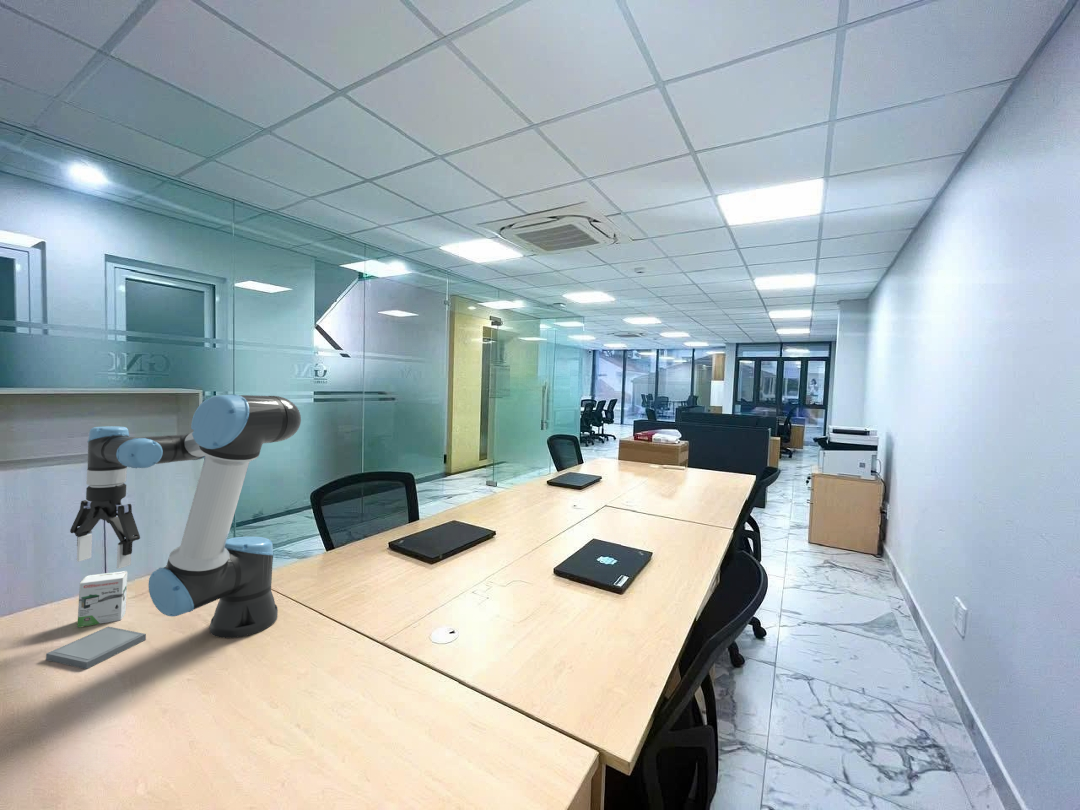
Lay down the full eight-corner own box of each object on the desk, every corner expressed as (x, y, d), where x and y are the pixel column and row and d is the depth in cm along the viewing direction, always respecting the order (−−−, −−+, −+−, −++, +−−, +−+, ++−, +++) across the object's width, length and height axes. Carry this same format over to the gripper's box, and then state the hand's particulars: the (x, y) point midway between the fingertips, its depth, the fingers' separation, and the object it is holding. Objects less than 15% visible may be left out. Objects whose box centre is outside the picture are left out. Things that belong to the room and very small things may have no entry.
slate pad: (145, 639, 107) (145, 633, 107) (86, 669, 96) (86, 662, 96) (108, 632, 110) (108, 626, 110) (45, 659, 98) (46, 653, 98)
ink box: (76, 628, 111) (77, 583, 110) (82, 619, 115) (84, 575, 115) (121, 620, 115) (123, 576, 115) (126, 612, 120) (128, 570, 119)
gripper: (159, 486, 116) (156, 564, 116) (88, 477, 121) (84, 552, 121) (128, 492, 108) (124, 575, 109) (53, 482, 113) (49, 561, 114)
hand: (103, 563), depth 115 cm, fingers open, 13 cm apart
